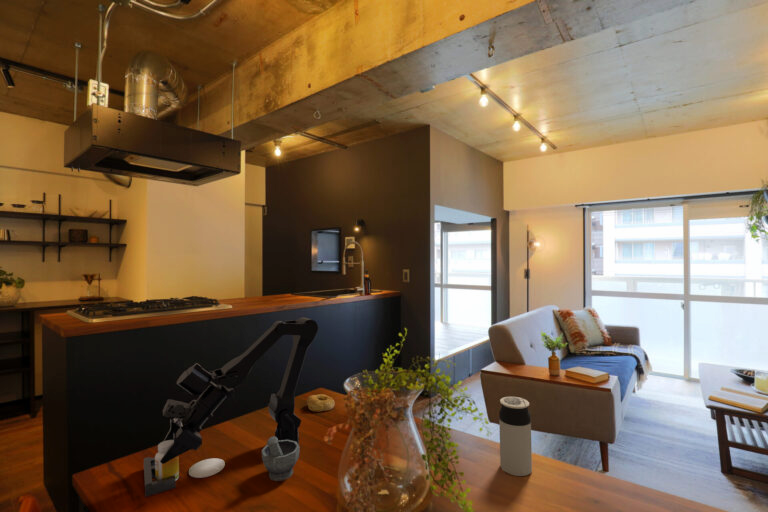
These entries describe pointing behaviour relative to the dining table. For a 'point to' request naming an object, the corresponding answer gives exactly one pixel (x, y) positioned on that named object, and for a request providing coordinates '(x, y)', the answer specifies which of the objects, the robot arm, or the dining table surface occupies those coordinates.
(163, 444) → the supplement bottle
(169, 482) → the rail
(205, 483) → the dining table surface
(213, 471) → the coaster
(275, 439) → the mortar and pestle
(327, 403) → the bagel
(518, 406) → the travel mug
